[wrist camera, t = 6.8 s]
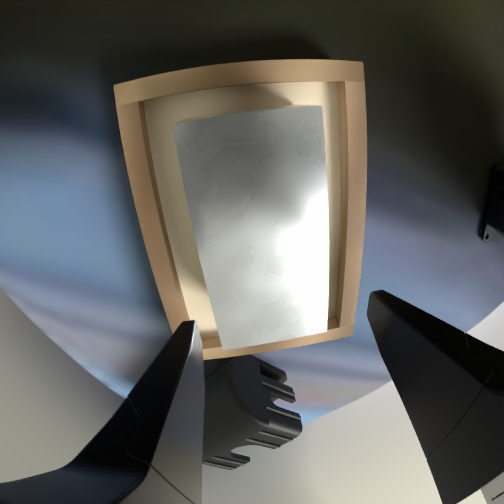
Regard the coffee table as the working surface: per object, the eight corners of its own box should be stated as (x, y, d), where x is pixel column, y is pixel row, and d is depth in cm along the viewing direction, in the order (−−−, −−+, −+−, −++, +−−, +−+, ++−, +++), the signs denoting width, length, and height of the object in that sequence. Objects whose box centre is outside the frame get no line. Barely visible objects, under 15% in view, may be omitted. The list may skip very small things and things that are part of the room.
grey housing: (306, 285, 17) (326, 331, 14) (220, 300, 17) (223, 350, 14) (293, 104, 13) (321, 105, 9) (184, 118, 13) (172, 124, 9)
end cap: (225, 335, 21) (231, 413, 15) (292, 369, 24) (310, 437, 18) (158, 396, 24) (152, 460, 18) (220, 420, 27) (224, 479, 21)
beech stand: (338, 67, 14) (362, 62, 11) (337, 308, 21) (352, 335, 19) (131, 88, 13) (113, 85, 10) (185, 330, 21) (183, 361, 18)
